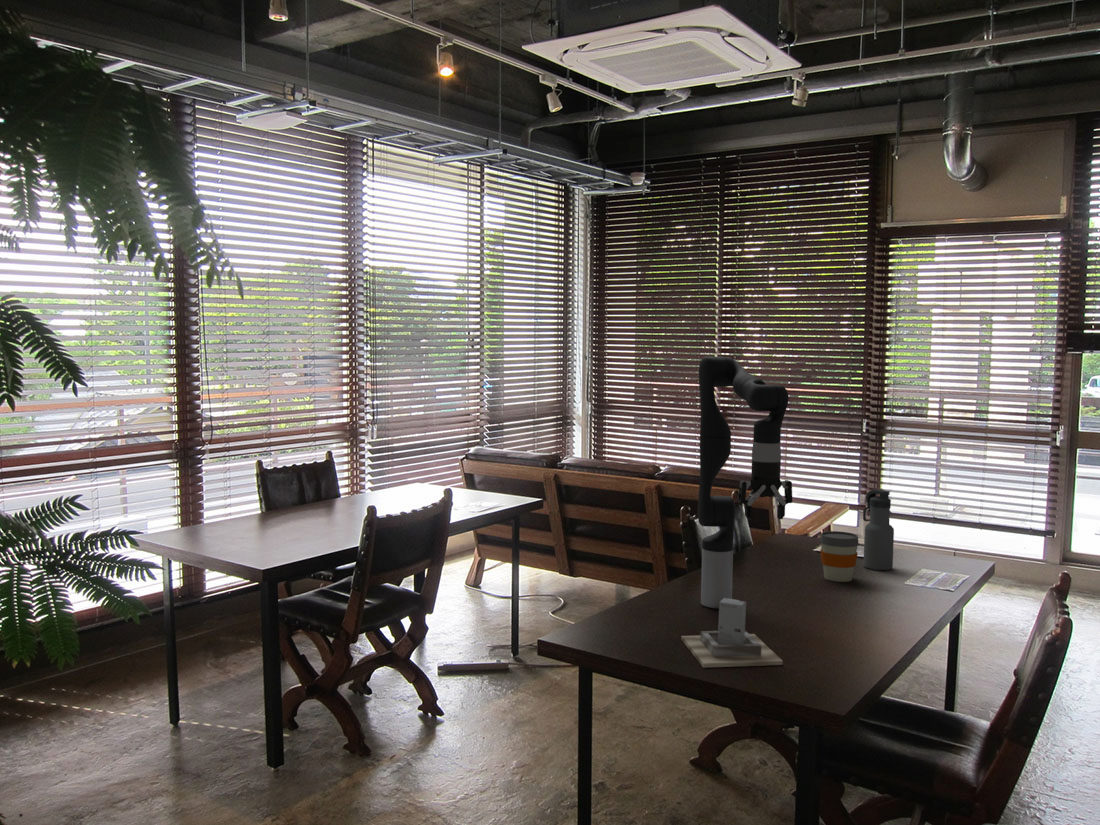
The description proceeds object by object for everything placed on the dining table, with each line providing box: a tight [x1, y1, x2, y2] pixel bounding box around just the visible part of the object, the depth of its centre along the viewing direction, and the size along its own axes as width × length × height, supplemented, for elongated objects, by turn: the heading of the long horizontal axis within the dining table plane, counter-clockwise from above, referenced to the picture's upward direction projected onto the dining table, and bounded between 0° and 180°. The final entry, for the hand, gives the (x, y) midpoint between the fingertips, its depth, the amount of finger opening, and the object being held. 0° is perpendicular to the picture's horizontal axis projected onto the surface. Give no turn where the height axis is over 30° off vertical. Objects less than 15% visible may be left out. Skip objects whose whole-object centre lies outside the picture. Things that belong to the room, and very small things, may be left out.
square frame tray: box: [681, 630, 784, 669], centre depth 214 cm, size 20×20×4 cm
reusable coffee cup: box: [819, 530, 860, 583], centre depth 286 cm, size 13×13×15 cm
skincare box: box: [717, 598, 747, 645], centre depth 214 cm, size 6×4×12 cm
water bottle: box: [862, 489, 895, 571], centre depth 300 cm, size 10×10×28 cm
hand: (764, 518), depth 225 cm, fingers open, 8 cm apart
